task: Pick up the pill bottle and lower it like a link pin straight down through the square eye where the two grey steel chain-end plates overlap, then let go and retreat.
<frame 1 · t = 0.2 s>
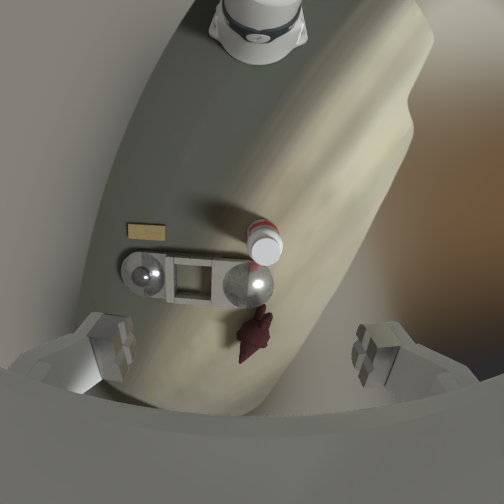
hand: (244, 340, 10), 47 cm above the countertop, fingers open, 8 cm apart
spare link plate: (148, 230, 57), on the countertop
pill bottle: (262, 233, 58), on the countertop
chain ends: (194, 276, 60), on the countertop
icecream: (253, 328, 65), on the countertop
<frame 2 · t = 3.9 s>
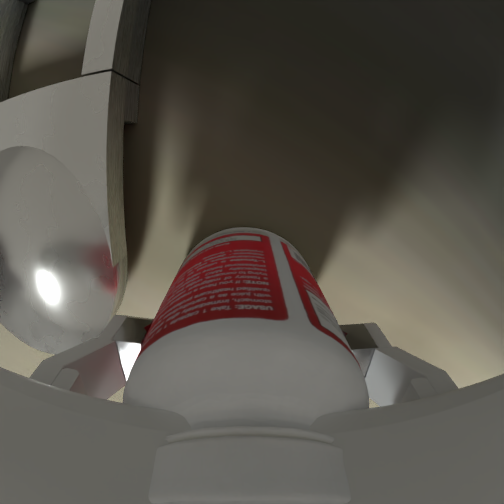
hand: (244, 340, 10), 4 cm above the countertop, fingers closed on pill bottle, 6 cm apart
pill bottle: (245, 286, 14), on the countertop, touching gripper
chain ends: (61, 36, 9), on the countertop
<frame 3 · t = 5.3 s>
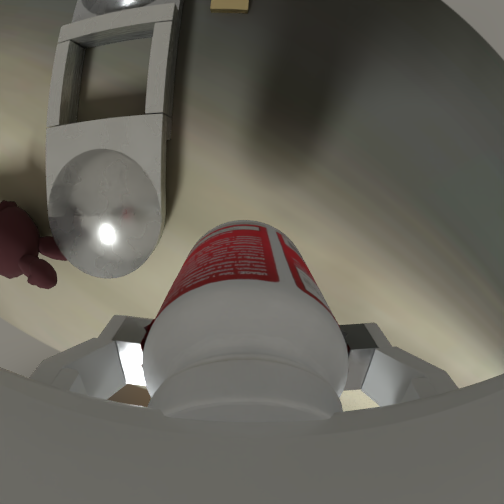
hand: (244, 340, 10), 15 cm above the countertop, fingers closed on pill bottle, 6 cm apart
pill bottle: (245, 273, 16), point 8 cm above the countertop, touching gripper
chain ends: (117, 80, 19), on the countertop
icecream: (25, 230, 23), on the countertop
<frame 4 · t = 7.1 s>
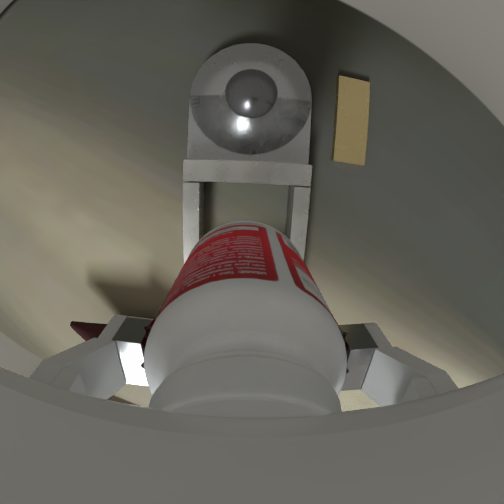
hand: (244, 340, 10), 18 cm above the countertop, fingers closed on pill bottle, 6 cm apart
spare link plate: (348, 120, 24), on the countertop
pill bottle: (245, 273, 16), point 11 cm above the countertop, touching gripper
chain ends: (245, 221, 26), on the countertop
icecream: (144, 332, 31), on the countertop
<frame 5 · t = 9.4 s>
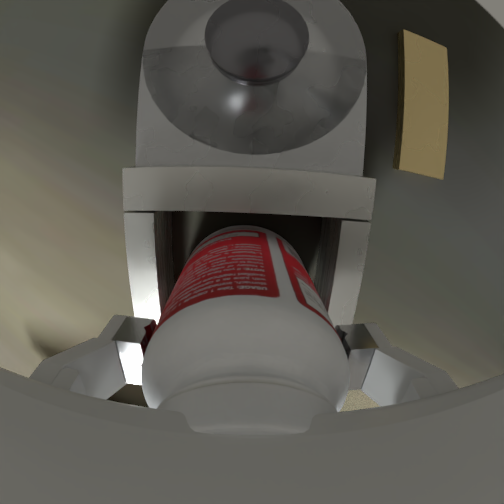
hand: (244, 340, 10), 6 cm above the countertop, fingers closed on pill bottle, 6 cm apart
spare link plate: (416, 104, 13), on the countertop
pill bottle: (244, 278, 16), resting in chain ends, touching gripper
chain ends: (244, 274, 15), on the countertop
when the fingers open (6 cm above the countertop, at t = 10.0 s): pill bottle stays where it is, resting in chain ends.
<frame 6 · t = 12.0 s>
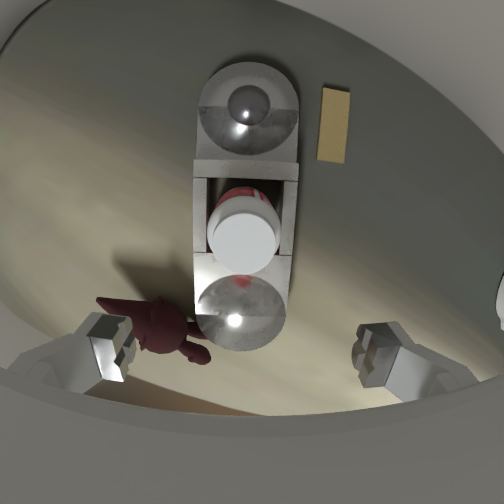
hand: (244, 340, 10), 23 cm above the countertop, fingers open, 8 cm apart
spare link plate: (331, 125, 29), on the countertop
pill bottle: (244, 213, 32), resting in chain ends
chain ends: (244, 211, 32), on the countertop
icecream: (161, 310, 36), on the countertop
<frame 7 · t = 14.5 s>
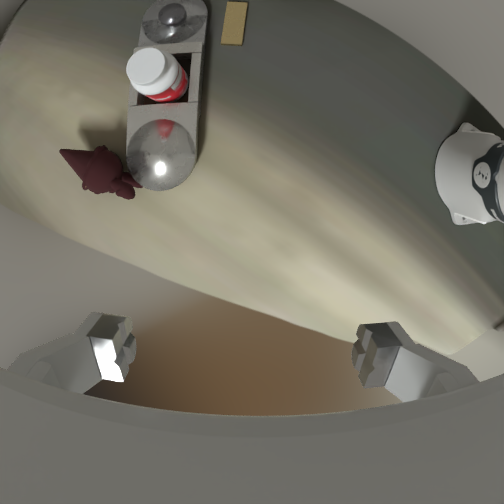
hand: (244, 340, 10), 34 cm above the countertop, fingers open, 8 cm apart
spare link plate: (234, 25, 34), on the countertop
pill bottle: (169, 85, 37), resting in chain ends
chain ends: (168, 82, 36), on the countertop
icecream: (107, 168, 40), on the countertop
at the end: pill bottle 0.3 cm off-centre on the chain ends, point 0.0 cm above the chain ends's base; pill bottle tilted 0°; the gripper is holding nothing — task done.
